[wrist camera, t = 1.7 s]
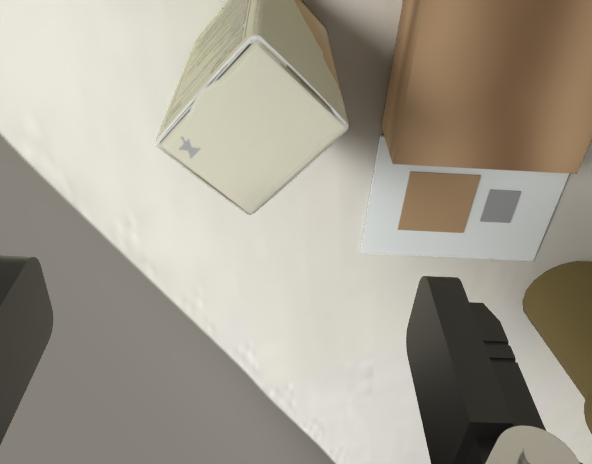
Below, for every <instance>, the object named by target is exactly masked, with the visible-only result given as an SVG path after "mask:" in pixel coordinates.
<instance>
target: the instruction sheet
mask: <svg viewBox="0 0 592 464" xmlns="http://www.w3.org/2000/svg"><path fill="white" fill-rule="evenodd" d="M568 176H569V174H568V173H549V172H531V171H512V170H494V169H475V168H457V167H438V166H420V165H402V164H393V163H392V160H391V157H390V154H389V150H388V147H387V144H386V140H385V137H384V135H380V138H379V143H378V149H377V155H376V161H375V166H374V172H373V178H372V184H371V189H370V195H369V201H368V207H367V213H366V218H365V224H364V230H363V236H362V241H361V247H360V253H364V254H386V255H408V256H430V257H451V258H473V259H495V260H517V261H533V260H534V258H535V256H536V253H537V251H538V248H539V246H540V244H541V241H542V239H543V236H544V234H545V232H546V229H547V227H548V224H549V222H550V219H551V217H552V215H553V212H554V210H555V207H556V205H557V203H558V200H559V198H560V195H561V193H562V191H563V188H564V186H565V183H566V181H567V179H568Z"/></svg>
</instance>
